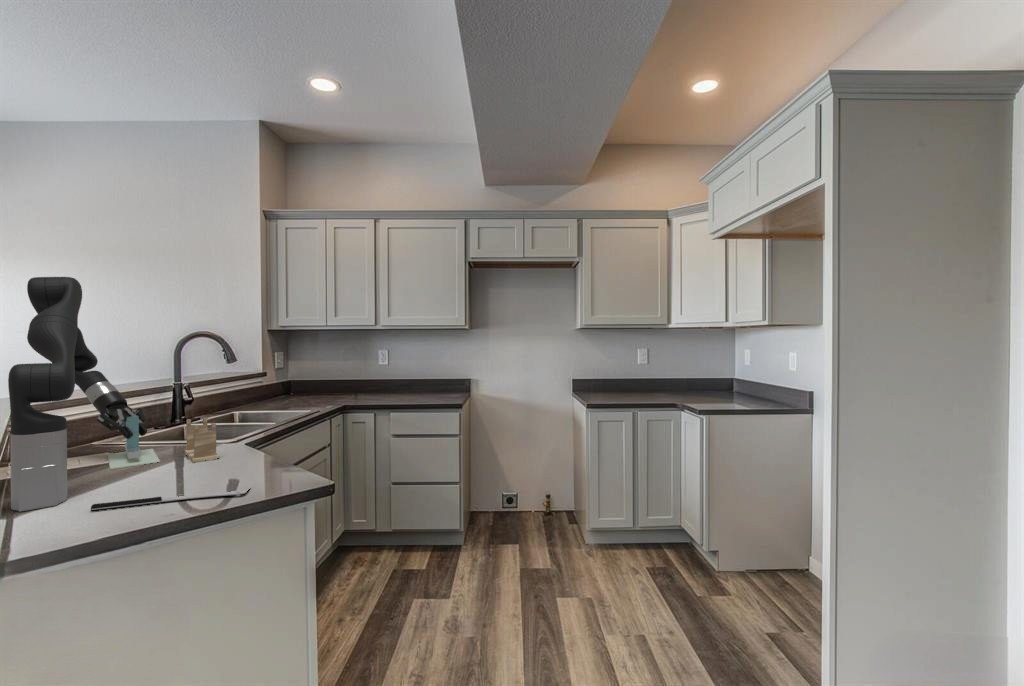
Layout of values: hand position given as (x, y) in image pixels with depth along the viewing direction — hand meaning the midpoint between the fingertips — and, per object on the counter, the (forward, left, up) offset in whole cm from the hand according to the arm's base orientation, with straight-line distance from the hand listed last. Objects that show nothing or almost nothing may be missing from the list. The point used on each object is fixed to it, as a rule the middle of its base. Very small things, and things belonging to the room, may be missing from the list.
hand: (137, 435), depth 149 cm
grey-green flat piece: (+1, +1, -6) cm, 6 cm away
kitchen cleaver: (-56, -4, -9) cm, 57 cm away
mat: (+1, +1, -8) cm, 8 cm away
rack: (-10, -16, -8) cm, 20 cm away
